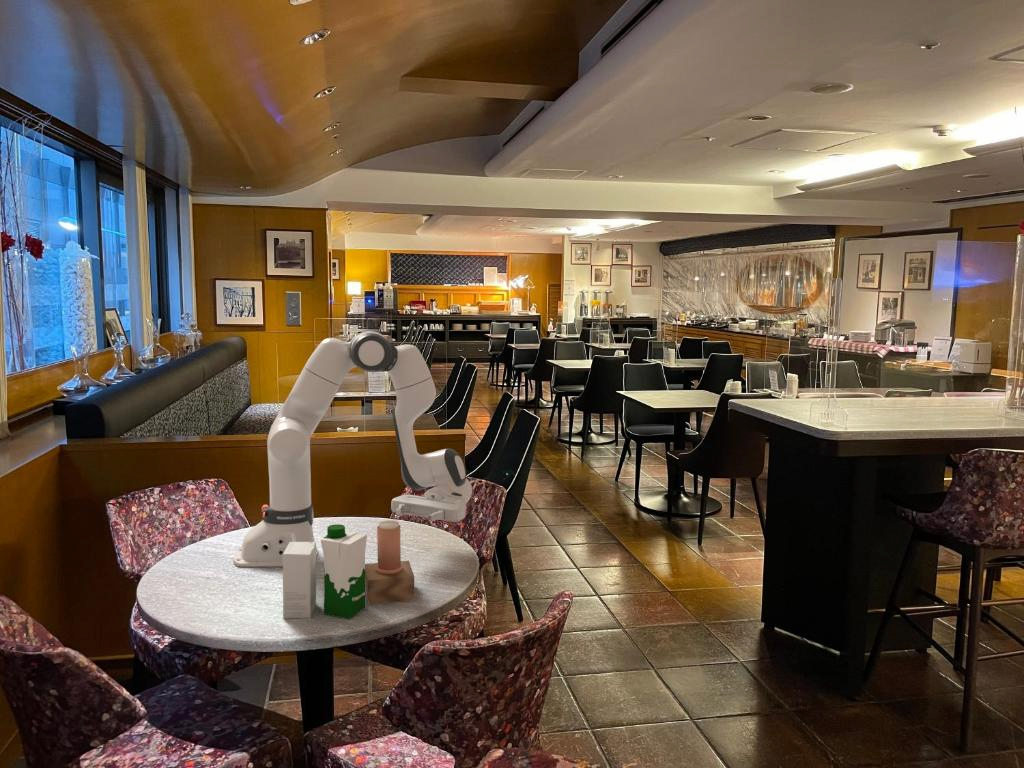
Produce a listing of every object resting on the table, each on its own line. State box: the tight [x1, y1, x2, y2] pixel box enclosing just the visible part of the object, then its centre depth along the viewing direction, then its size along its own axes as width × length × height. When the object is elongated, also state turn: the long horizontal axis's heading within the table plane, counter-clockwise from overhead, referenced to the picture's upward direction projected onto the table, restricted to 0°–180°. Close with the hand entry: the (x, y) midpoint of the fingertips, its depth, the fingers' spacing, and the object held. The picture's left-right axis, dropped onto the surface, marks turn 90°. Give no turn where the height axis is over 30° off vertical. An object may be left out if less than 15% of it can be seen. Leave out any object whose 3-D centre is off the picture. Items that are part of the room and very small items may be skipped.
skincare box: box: [282, 541, 317, 620], centre depth 173 cm, size 8×7×16 cm
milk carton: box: [320, 523, 368, 620], centre depth 173 cm, size 9×9×20 cm
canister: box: [376, 520, 403, 575], centre depth 184 cm, size 7×7×12 cm
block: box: [365, 560, 415, 605], centre depth 185 cm, size 11×11×6 cm
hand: (414, 515), depth 196 cm, fingers open, 8 cm apart
